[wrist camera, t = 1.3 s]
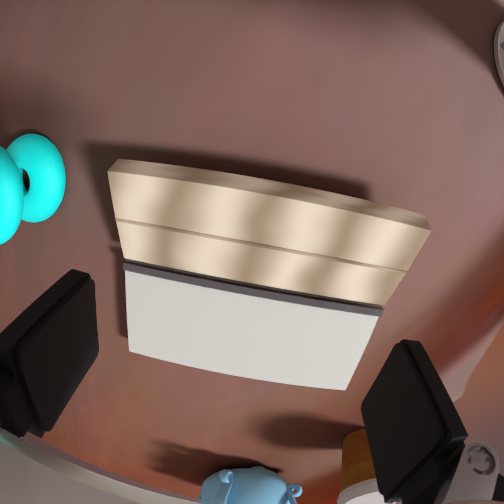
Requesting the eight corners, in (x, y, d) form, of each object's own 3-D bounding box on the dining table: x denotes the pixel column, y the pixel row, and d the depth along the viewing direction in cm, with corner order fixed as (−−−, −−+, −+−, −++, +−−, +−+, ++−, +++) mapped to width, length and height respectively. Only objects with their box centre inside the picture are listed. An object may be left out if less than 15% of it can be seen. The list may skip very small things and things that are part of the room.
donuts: (21, 240, 22) (-31, 257, 23) (81, 206, 31) (24, 225, 33) (-8, 127, 18) (-56, 166, 20) (59, 119, 27) (4, 149, 29)
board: (377, 297, 32) (383, 310, 30) (343, 378, 37) (345, 393, 35) (132, 252, 33) (123, 262, 30) (135, 341, 37) (127, 353, 35)
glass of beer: (398, 417, 40) (416, 483, 29) (383, 451, 43) (394, 509, 32) (337, 423, 40) (344, 493, 29) (328, 456, 44) (332, 517, 33)
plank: (425, 215, 24) (431, 231, 23) (381, 289, 31) (384, 306, 30) (118, 158, 25) (106, 171, 23) (131, 244, 32) (123, 258, 30)
